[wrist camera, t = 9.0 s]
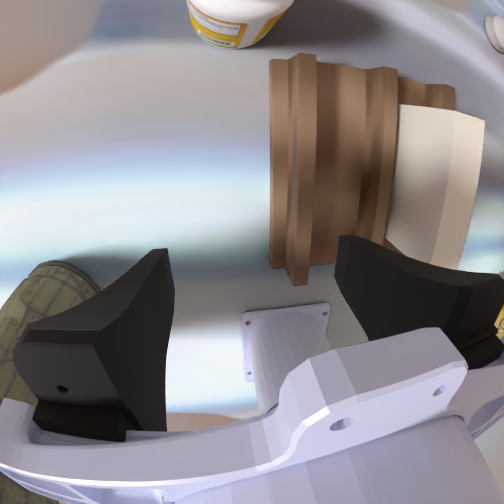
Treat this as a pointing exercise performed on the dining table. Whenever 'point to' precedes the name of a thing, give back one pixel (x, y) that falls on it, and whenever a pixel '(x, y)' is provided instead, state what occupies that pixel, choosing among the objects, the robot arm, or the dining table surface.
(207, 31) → the supplement bottle
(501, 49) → the rook chess piece
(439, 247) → the beige rectangular block
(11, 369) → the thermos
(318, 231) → the rack
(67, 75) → the dining table surface
